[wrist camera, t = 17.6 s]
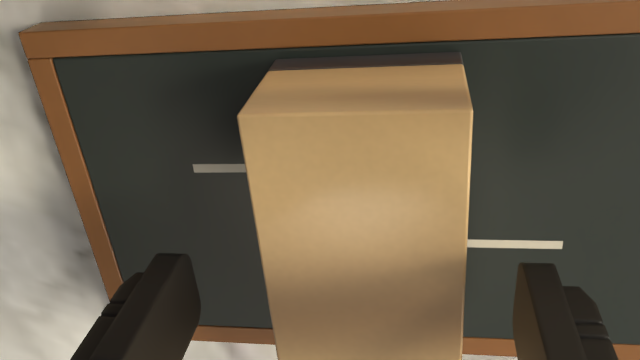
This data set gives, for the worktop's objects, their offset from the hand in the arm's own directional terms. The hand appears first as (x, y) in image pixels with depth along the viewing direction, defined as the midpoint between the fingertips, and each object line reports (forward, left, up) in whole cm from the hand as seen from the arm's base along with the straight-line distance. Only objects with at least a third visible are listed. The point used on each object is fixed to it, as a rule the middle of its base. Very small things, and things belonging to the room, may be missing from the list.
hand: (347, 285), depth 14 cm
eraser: (+1, 0, -4) cm, 4 cm away
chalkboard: (0, 0, -5) cm, 5 cm away
